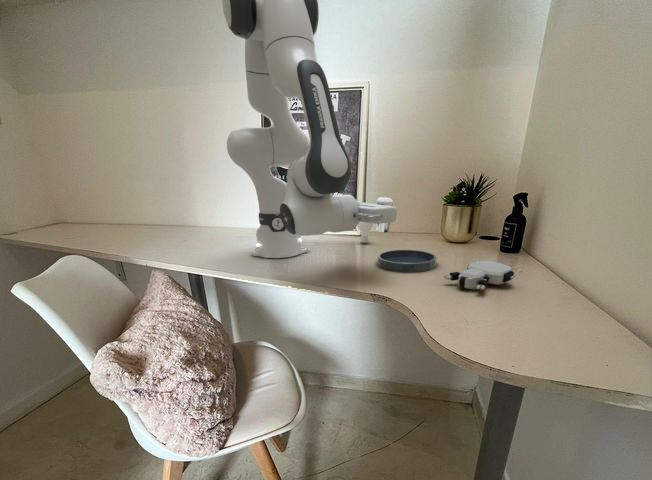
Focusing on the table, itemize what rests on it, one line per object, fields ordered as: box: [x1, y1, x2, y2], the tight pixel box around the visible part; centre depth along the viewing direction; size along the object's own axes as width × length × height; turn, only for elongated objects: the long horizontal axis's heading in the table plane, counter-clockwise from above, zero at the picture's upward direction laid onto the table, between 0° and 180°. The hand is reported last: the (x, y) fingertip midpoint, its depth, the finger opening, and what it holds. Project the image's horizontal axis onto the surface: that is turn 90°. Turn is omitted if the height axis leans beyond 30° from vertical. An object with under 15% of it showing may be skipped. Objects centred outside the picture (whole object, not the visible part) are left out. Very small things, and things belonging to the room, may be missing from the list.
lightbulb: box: [356, 222, 374, 244], centre depth 128 cm, size 6×6×11 cm
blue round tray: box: [377, 249, 438, 273], centre depth 101 cm, size 17×17×2 cm
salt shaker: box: [375, 193, 397, 234], centre depth 90 cm, size 4×5×10 cm
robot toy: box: [443, 259, 523, 291], centre depth 82 cm, size 12×4×15 cm
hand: (387, 209), depth 90 cm, fingers closed on salt shaker, 4 cm apart
